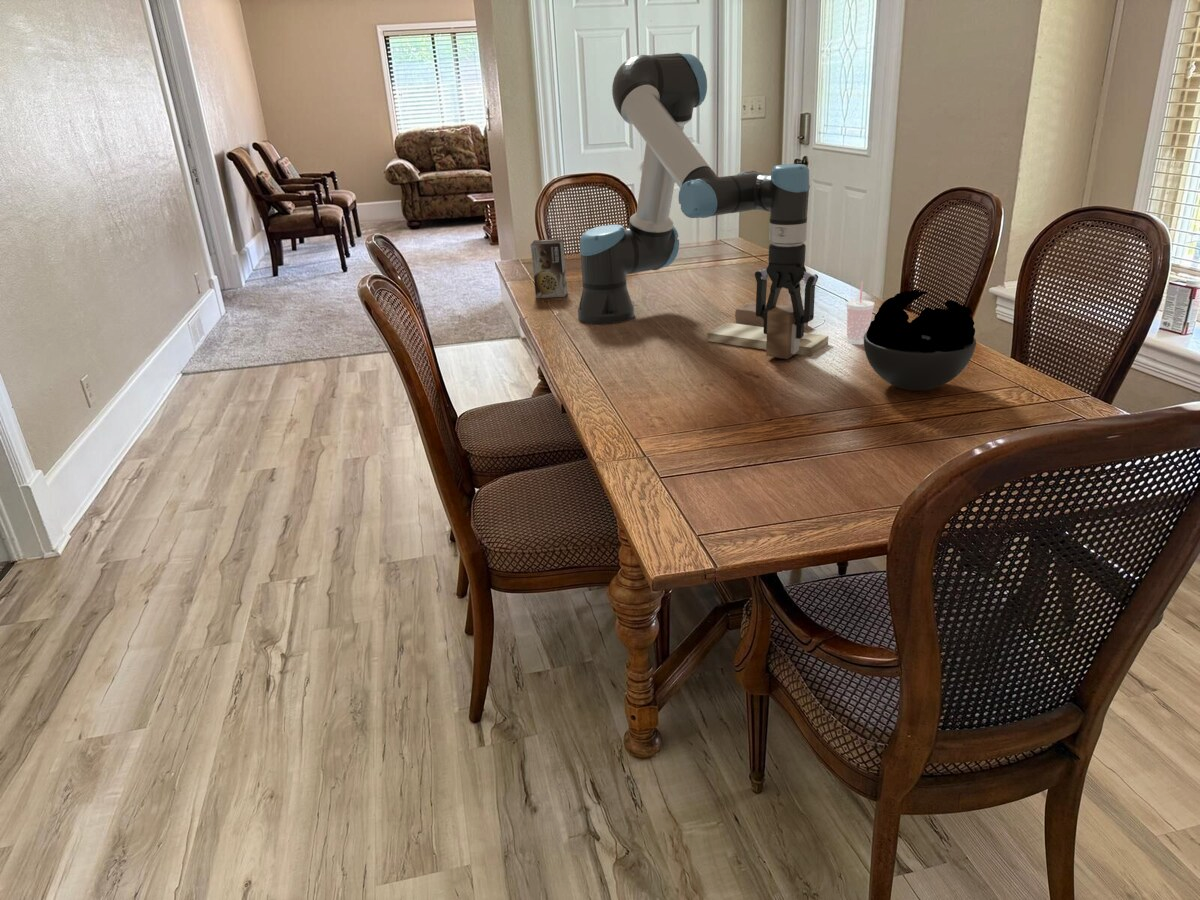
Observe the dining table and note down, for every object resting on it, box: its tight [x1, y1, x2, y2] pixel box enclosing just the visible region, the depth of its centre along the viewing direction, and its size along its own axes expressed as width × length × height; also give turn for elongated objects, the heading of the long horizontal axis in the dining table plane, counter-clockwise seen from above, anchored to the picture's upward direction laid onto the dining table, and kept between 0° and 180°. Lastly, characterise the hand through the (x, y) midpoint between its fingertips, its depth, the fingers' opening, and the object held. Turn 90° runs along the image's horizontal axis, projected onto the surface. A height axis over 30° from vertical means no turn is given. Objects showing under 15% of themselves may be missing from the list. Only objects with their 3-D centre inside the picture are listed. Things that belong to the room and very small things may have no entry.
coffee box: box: [530, 238, 568, 299], centre depth 239 cm, size 9×6×16 cm
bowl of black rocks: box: [863, 289, 977, 391], centre depth 152 cm, size 20×20×19 cm
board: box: [706, 321, 829, 357], centre depth 187 cm, size 26×10×2 cm, turn 53°
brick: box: [734, 301, 809, 328], centre depth 200 cm, size 17×8×5 cm, turn 51°
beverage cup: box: [845, 280, 875, 345], centre depth 182 cm, size 6×6×14 cm
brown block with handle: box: [765, 304, 807, 360], centre depth 177 cm, size 5×13×10 cm, turn 143°
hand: (782, 350), depth 176 cm, fingers closed on brown block with handle, 5 cm apart
